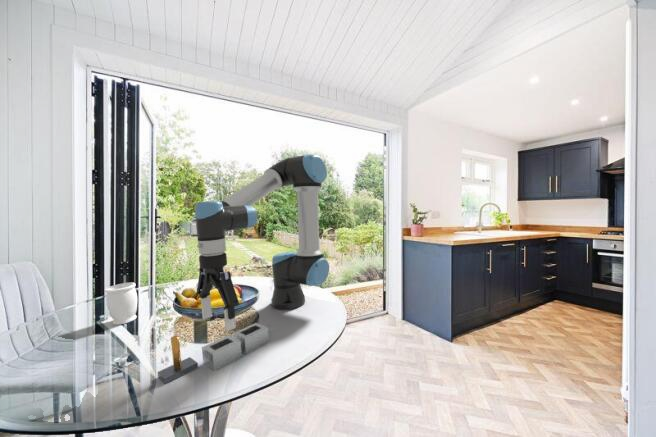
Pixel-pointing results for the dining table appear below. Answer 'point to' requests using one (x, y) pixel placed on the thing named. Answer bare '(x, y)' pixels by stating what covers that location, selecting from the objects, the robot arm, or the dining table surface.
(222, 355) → the grey rectangular block
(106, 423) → the dining table surface
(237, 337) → the grey slotted holder
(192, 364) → the grey base with post
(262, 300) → the dining table surface
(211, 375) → the dining table surface
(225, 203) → the robot arm
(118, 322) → the jar
